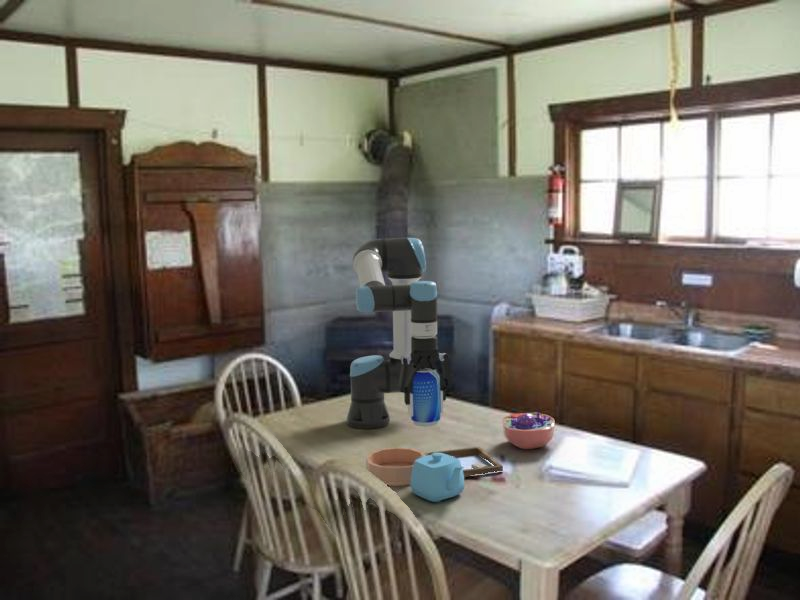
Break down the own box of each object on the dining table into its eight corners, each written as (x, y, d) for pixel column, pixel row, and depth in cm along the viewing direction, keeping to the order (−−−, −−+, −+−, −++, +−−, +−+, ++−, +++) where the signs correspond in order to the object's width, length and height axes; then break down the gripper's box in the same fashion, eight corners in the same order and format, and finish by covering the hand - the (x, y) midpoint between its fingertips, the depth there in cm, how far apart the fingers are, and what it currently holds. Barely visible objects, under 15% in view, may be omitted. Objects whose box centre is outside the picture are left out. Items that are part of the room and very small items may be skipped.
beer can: (443, 419, 223) (442, 366, 221) (436, 428, 215) (435, 372, 213) (416, 417, 226) (415, 364, 224) (407, 426, 218) (406, 371, 216)
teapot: (445, 513, 193) (445, 470, 191) (401, 492, 207) (400, 451, 205) (481, 500, 200) (481, 458, 199) (436, 481, 214) (436, 441, 213)
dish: (359, 467, 226) (358, 451, 225) (417, 460, 231) (417, 444, 230) (374, 489, 209) (373, 472, 208) (436, 481, 214) (436, 464, 213)
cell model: (562, 439, 247) (562, 405, 246) (546, 459, 229) (547, 423, 228) (511, 433, 254) (511, 400, 253) (492, 452, 237) (492, 417, 235)
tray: (423, 459, 232) (423, 453, 231) (479, 452, 236) (479, 446, 236) (443, 480, 214) (443, 473, 214) (502, 472, 219) (502, 466, 219)
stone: (471, 471, 221) (471, 464, 221) (478, 469, 223) (478, 462, 223) (479, 475, 218) (479, 467, 218) (487, 473, 220) (487, 465, 220)
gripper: (392, 341, 210) (394, 421, 213) (463, 335, 216) (464, 412, 220) (384, 336, 217) (386, 413, 221) (454, 330, 224) (454, 406, 227)
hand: (425, 413), depth 220 cm, fingers closed on beer can, 8 cm apart
